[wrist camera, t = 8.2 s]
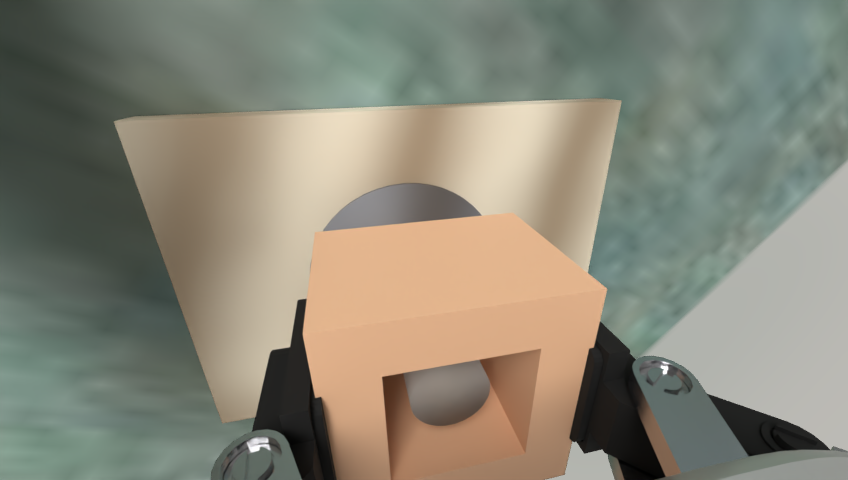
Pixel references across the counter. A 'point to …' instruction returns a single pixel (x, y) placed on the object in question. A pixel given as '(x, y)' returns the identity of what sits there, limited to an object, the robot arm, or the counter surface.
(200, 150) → the post stand
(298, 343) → the robot arm
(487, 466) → the ring
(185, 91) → the counter surface
